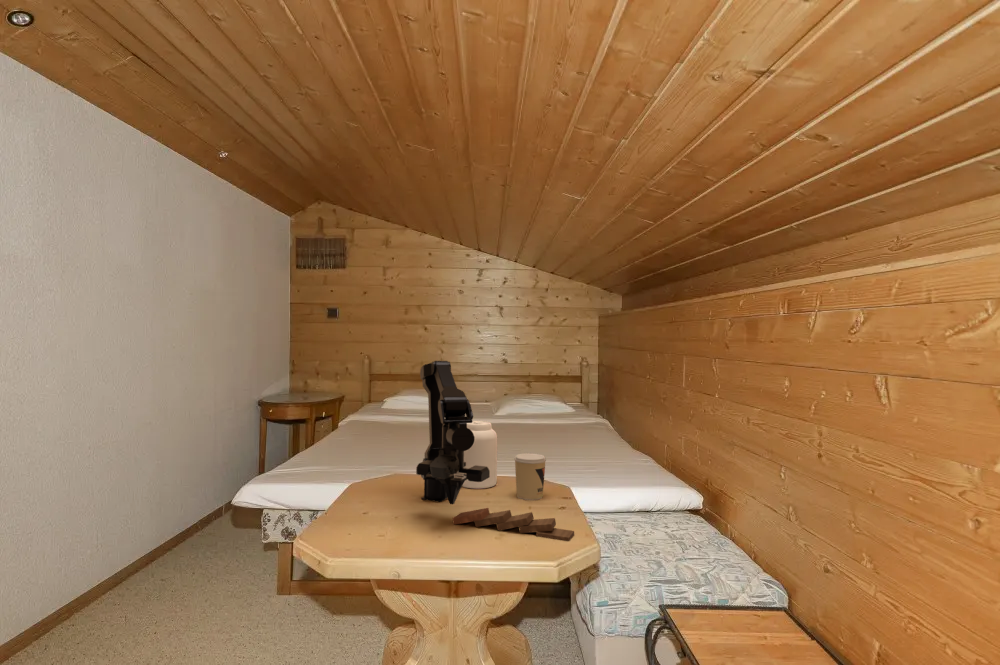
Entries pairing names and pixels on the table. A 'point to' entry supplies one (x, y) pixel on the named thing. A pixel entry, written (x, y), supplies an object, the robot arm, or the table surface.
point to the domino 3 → (516, 521)
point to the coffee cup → (530, 476)
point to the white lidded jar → (482, 453)
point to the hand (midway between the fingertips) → (452, 504)
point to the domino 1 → (471, 516)
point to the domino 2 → (494, 518)
